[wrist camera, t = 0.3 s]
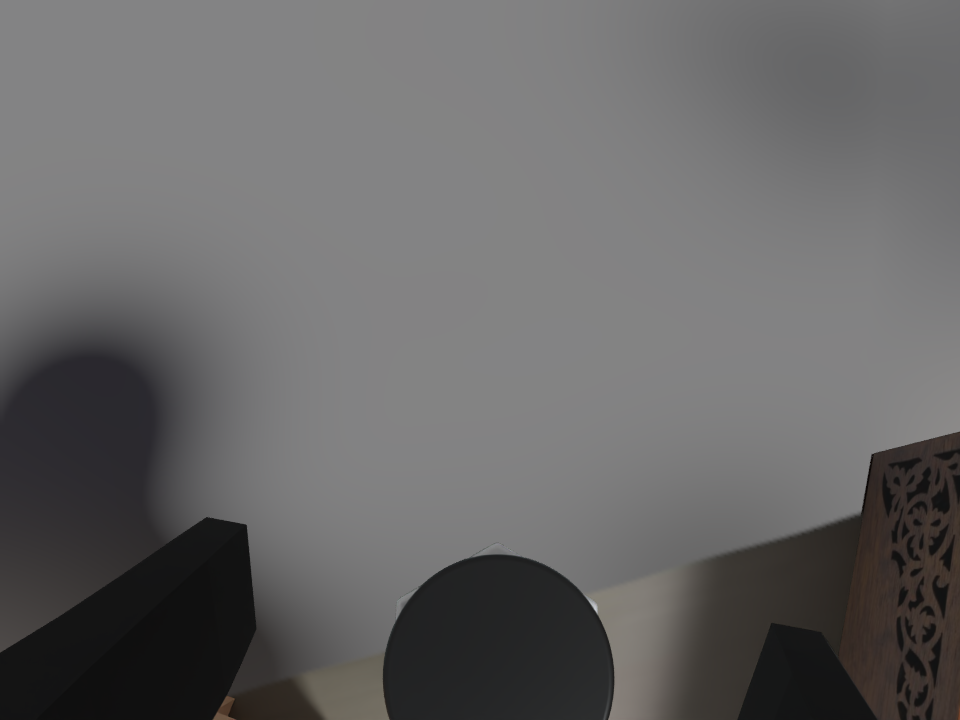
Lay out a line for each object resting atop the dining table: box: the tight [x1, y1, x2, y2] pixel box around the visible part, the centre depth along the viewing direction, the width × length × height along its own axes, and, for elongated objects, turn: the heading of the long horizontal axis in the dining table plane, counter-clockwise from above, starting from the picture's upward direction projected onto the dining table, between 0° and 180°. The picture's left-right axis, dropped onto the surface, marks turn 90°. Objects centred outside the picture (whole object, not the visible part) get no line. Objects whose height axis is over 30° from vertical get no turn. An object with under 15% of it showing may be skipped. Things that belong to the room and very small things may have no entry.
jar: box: [383, 543, 614, 720], centre depth 32 cm, size 9×8×12 cm
